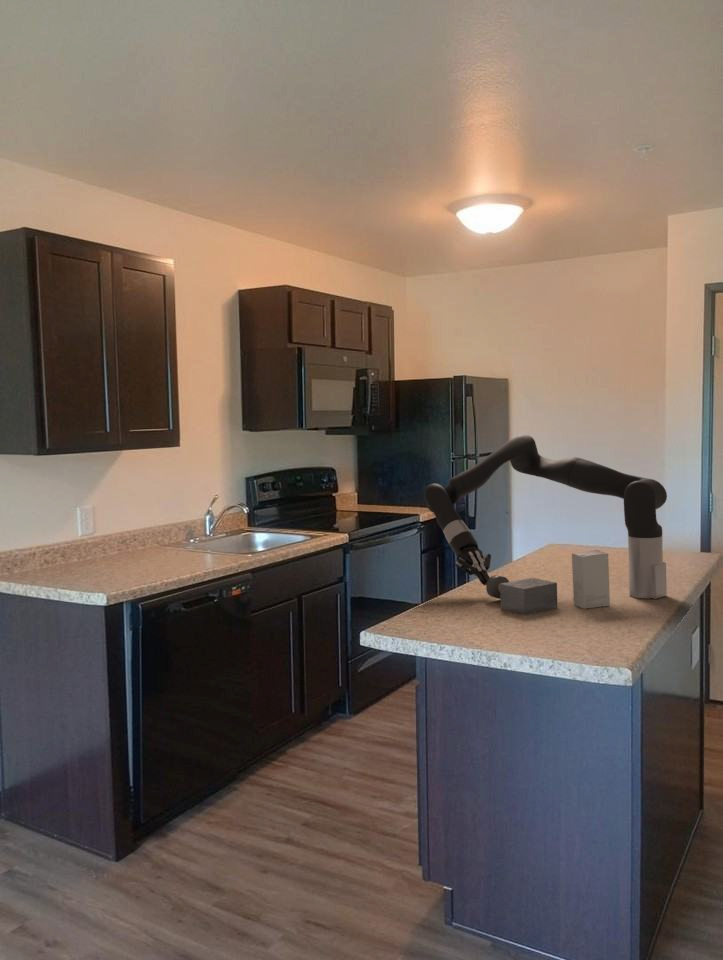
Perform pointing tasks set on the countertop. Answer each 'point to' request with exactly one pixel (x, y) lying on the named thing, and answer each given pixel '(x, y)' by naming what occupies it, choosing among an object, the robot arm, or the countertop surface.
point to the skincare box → (591, 579)
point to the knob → (495, 585)
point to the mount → (528, 595)
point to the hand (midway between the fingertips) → (487, 583)
